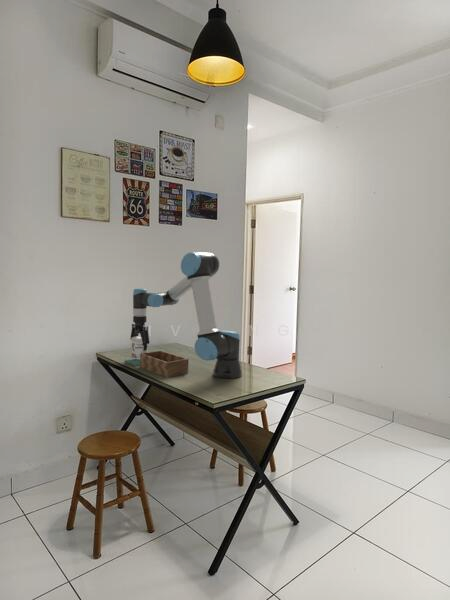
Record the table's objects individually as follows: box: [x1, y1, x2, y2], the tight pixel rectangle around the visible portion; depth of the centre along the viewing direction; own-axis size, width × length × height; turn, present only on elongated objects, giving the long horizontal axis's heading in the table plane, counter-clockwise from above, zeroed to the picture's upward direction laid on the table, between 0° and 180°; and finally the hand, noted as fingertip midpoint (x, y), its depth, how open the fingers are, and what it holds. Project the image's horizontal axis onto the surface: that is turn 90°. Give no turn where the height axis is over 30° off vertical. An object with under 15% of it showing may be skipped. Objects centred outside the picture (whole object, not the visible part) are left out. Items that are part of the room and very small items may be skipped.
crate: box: [139, 350, 189, 378], centre depth 225 cm, size 26×14×8 cm, turn 43°
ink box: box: [130, 335, 149, 359], centre depth 241 cm, size 9×5×12 cm, turn 62°
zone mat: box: [124, 357, 140, 366], centre depth 241 cm, size 12×12×1 cm
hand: (139, 354), depth 241 cm, fingers closed on ink box, 9 cm apart
